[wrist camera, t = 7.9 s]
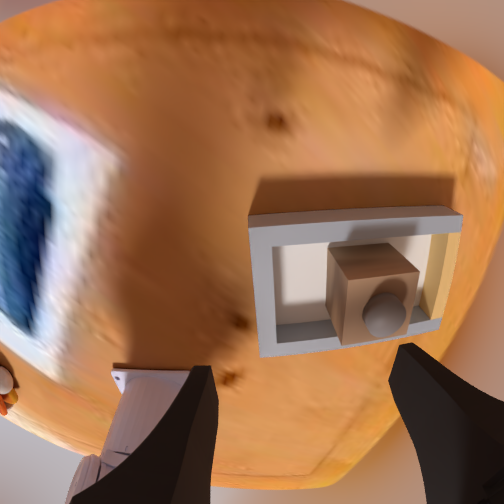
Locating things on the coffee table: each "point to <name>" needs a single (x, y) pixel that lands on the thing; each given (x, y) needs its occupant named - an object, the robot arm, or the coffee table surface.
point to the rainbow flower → (6, 391)
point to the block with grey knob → (369, 292)
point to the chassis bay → (315, 268)
